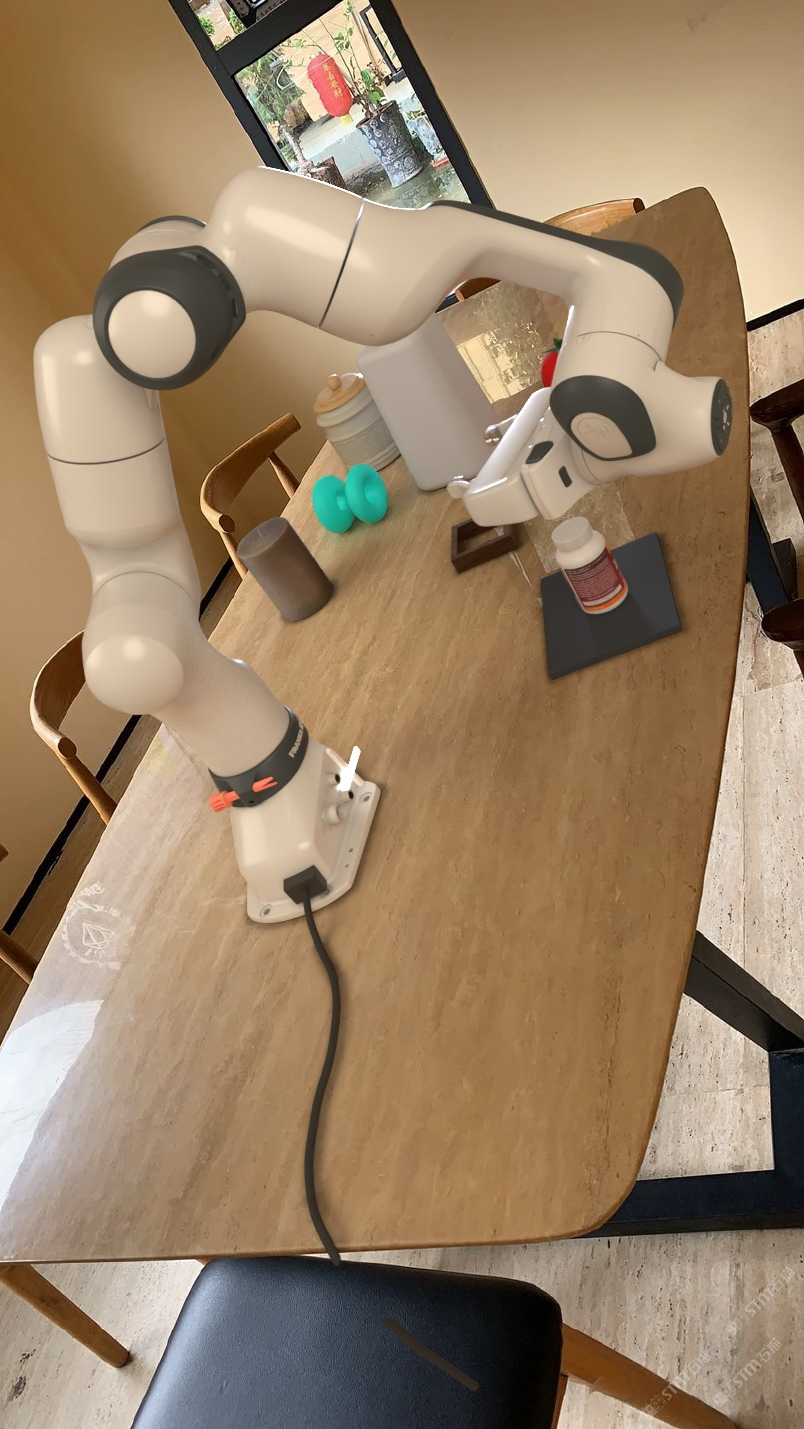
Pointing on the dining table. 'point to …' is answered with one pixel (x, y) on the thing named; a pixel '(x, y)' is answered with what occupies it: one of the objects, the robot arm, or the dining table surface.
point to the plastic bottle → (430, 404)
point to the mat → (616, 631)
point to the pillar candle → (285, 569)
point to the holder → (483, 551)
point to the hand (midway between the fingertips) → (470, 462)
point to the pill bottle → (588, 566)
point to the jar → (354, 423)
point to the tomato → (550, 363)
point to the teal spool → (350, 498)
